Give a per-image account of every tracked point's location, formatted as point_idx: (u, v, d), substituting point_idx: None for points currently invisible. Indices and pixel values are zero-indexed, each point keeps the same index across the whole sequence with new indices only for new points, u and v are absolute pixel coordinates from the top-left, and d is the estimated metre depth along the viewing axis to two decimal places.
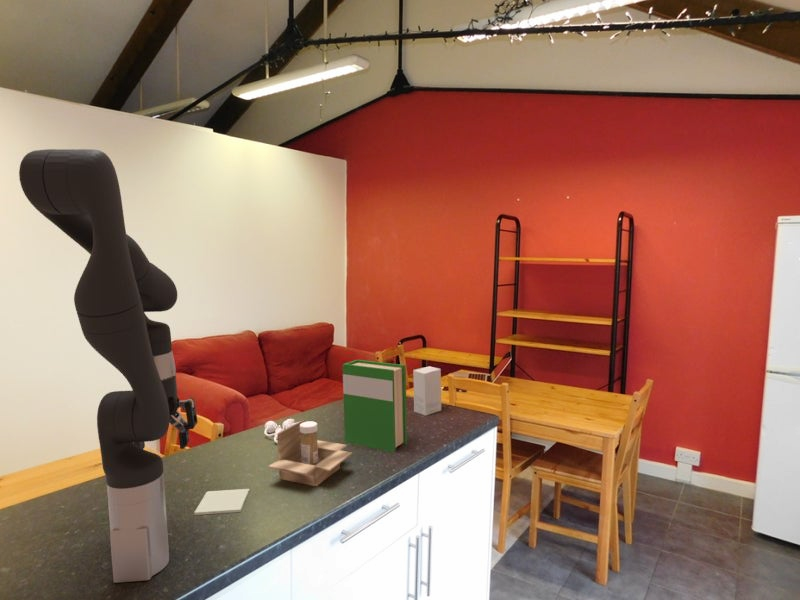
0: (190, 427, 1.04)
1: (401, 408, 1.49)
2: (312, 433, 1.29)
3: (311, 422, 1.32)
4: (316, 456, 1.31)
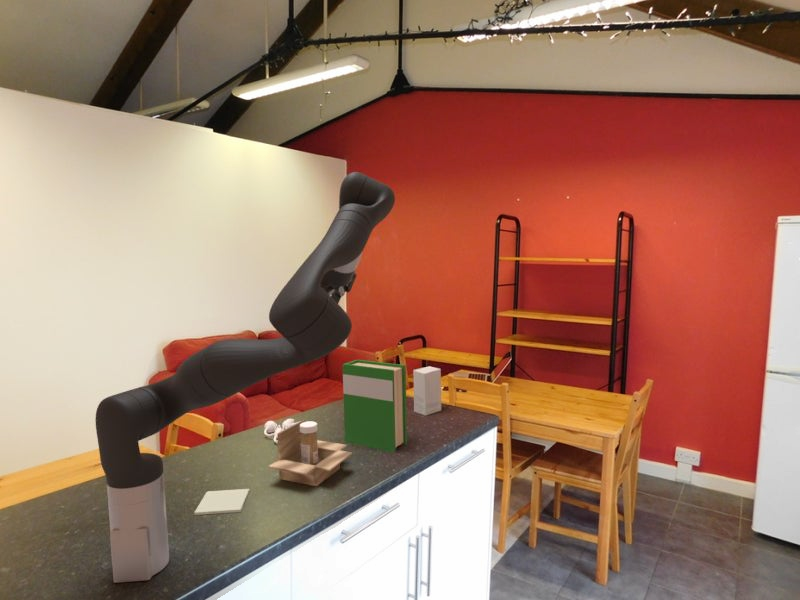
0: (348, 291, 1.18)
1: (401, 408, 1.49)
2: (312, 433, 1.29)
3: (311, 422, 1.32)
4: (316, 456, 1.31)
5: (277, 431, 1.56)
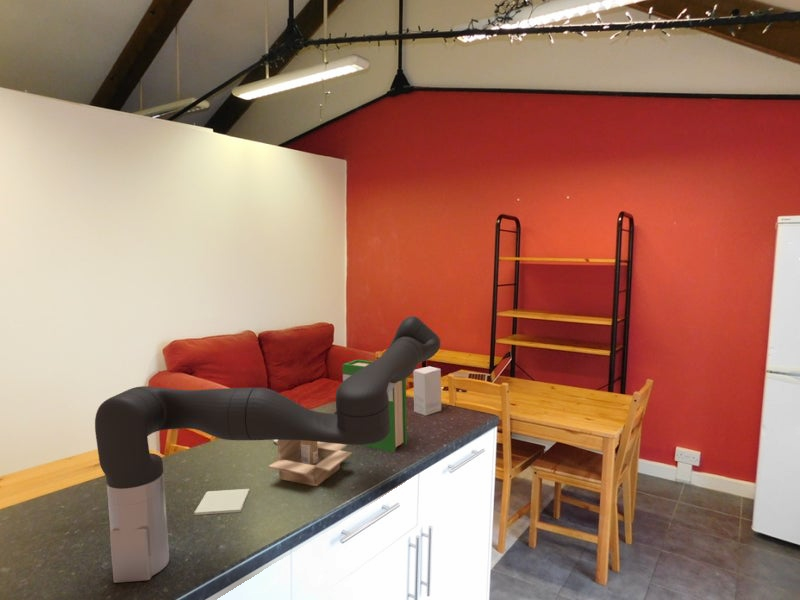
0: None
1: (401, 408, 1.49)
2: None
3: None
4: (316, 456, 1.31)
5: None
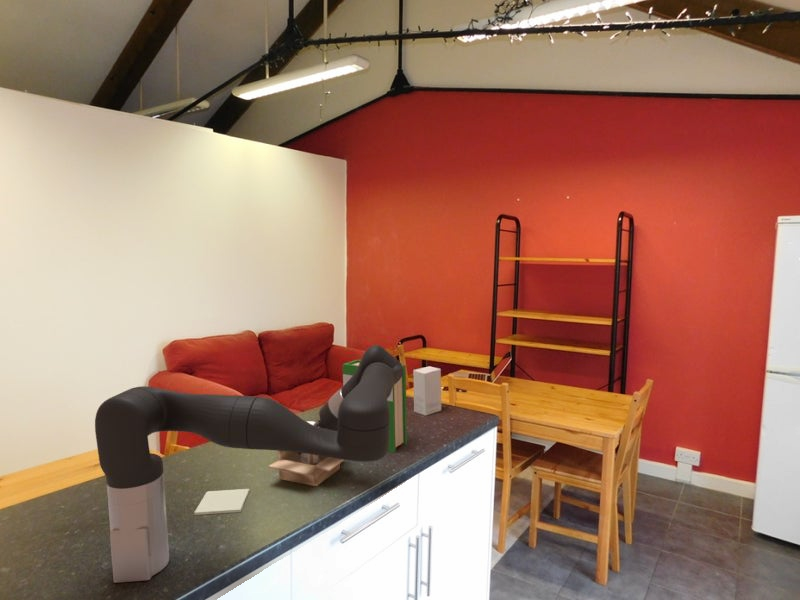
0: None
1: (401, 408, 1.49)
2: None
3: (311, 422, 1.32)
4: (316, 456, 1.31)
5: None
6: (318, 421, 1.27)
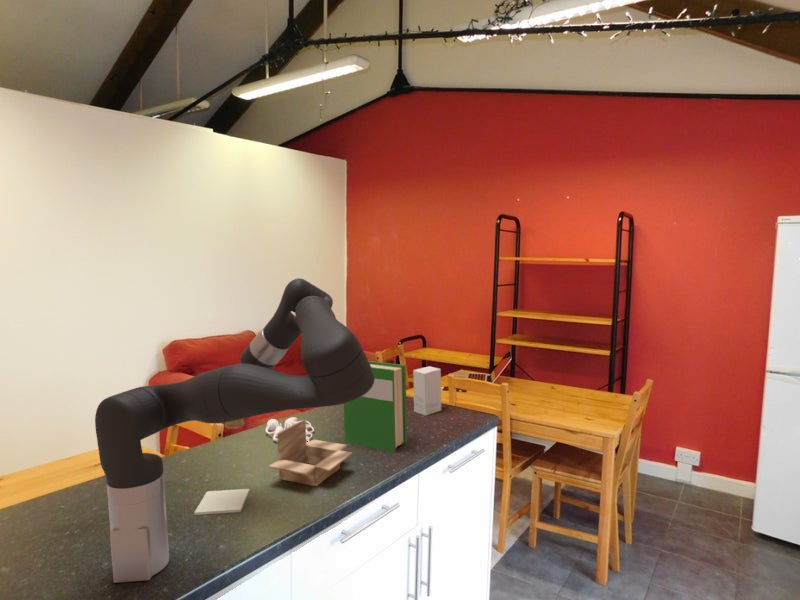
0: None
1: (401, 408, 1.49)
2: None
3: None
4: None
5: (277, 429, 1.57)
6: None
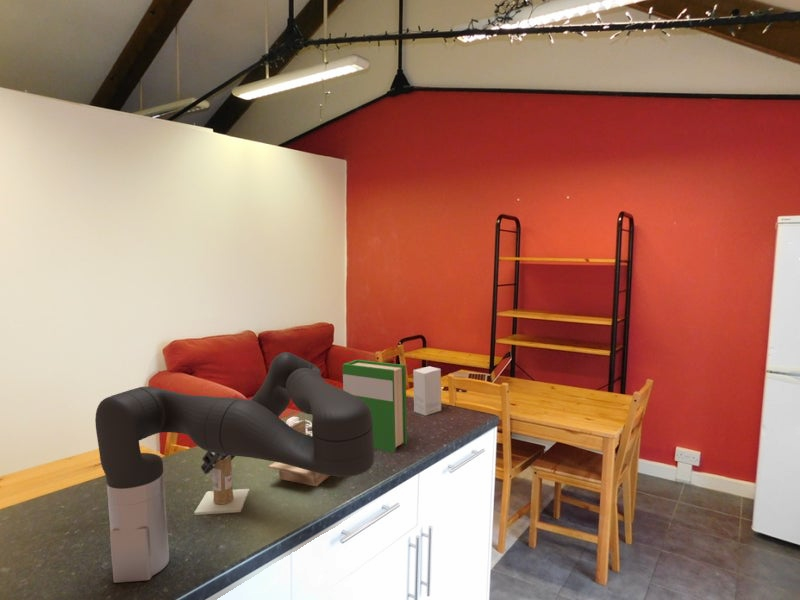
0: None
1: (401, 408, 1.49)
2: None
3: None
4: (229, 482, 1.16)
5: None
6: None
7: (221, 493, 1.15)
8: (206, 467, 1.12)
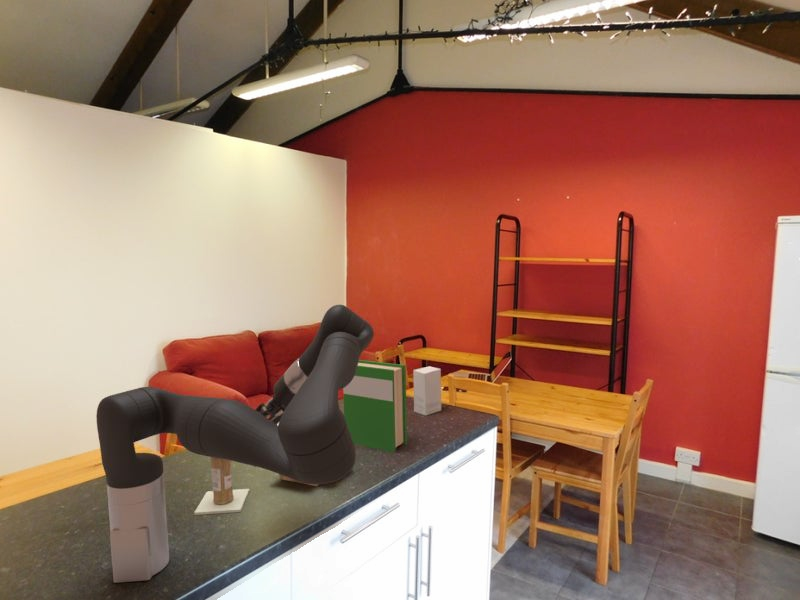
0: None
1: (401, 408, 1.49)
2: None
3: None
4: (229, 481, 1.16)
5: None
6: (274, 397, 1.06)
7: (220, 493, 1.15)
8: None
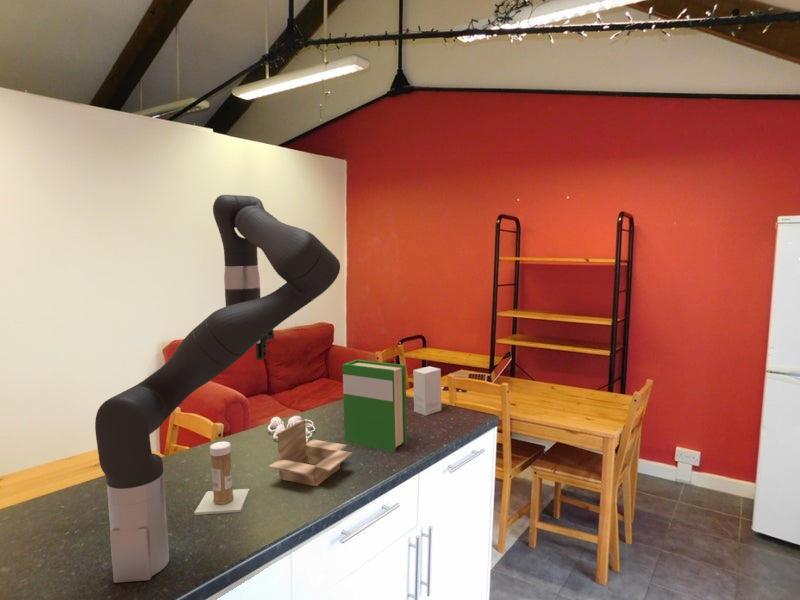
0: None
1: (401, 408, 1.49)
2: (223, 456, 1.14)
3: (224, 443, 1.17)
4: (229, 482, 1.16)
5: (278, 427, 1.59)
6: None
7: (221, 493, 1.15)
8: (265, 349, 1.12)
